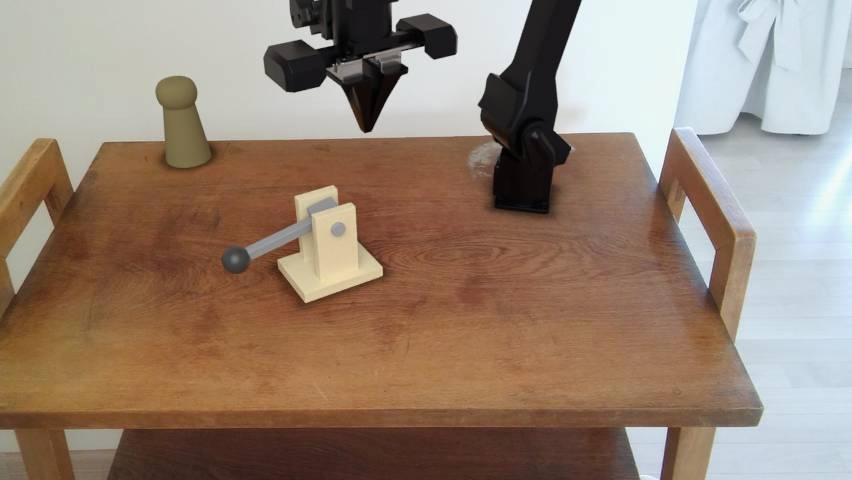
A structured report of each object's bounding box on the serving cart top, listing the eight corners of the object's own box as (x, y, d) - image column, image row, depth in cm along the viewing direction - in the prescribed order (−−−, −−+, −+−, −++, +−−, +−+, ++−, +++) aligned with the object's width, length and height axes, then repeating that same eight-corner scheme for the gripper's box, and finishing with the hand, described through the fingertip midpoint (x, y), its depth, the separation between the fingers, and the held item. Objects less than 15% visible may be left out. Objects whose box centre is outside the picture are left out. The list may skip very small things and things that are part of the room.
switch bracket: (305, 303, 77) (297, 230, 72) (278, 268, 82) (269, 197, 77) (383, 276, 81) (381, 204, 76) (352, 244, 86) (348, 174, 81)
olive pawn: (216, 147, 106) (204, 70, 99) (204, 168, 101) (190, 89, 94) (174, 146, 106) (158, 69, 100) (159, 167, 101) (142, 88, 95)
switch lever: (232, 284, 74) (223, 262, 72) (222, 269, 76) (213, 248, 74) (346, 227, 78) (341, 205, 76) (334, 215, 80) (328, 193, 78)
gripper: (403, -57, 80) (403, 86, 89) (232, -29, 72) (252, 123, 82) (463, -33, 72) (457, 121, 81) (279, 1, 64) (295, 166, 74)
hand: (366, 131), depth 79 cm, fingers closed
